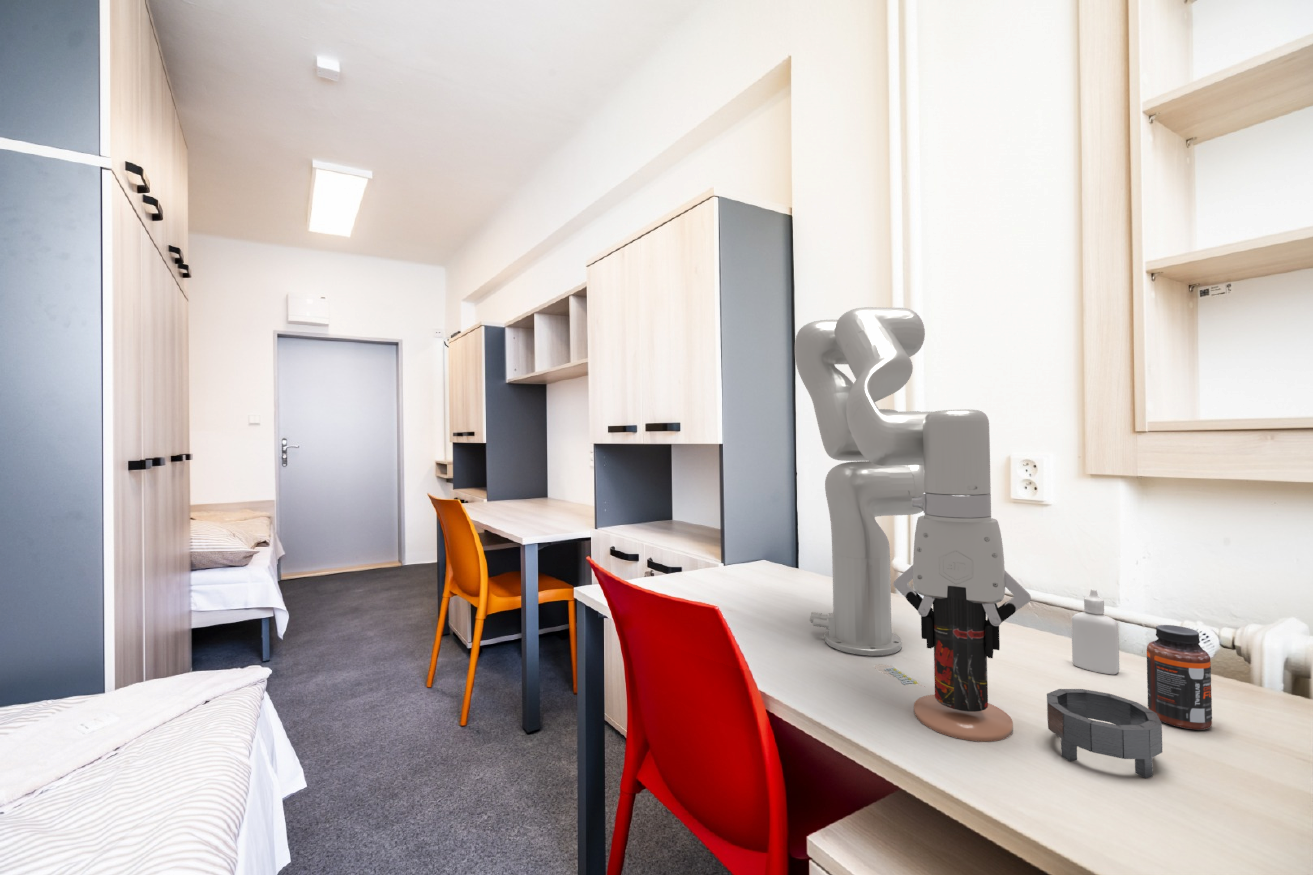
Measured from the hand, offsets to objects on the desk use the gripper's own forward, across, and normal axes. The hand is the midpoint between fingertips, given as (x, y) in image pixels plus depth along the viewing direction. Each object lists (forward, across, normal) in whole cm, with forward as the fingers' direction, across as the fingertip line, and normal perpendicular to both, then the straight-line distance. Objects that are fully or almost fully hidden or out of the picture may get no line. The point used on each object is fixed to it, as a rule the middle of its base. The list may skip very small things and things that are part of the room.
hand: (959, 648), depth 73 cm
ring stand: (+9, +14, -1) cm, 17 cm away
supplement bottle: (+9, +23, +13) cm, 28 cm away
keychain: (+9, -9, +10) cm, 16 cm away
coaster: (+9, 0, 0) cm, 9 cm away
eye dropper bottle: (+9, +16, +28) cm, 33 cm away
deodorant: (+7, 0, 0) cm, 7 cm away
